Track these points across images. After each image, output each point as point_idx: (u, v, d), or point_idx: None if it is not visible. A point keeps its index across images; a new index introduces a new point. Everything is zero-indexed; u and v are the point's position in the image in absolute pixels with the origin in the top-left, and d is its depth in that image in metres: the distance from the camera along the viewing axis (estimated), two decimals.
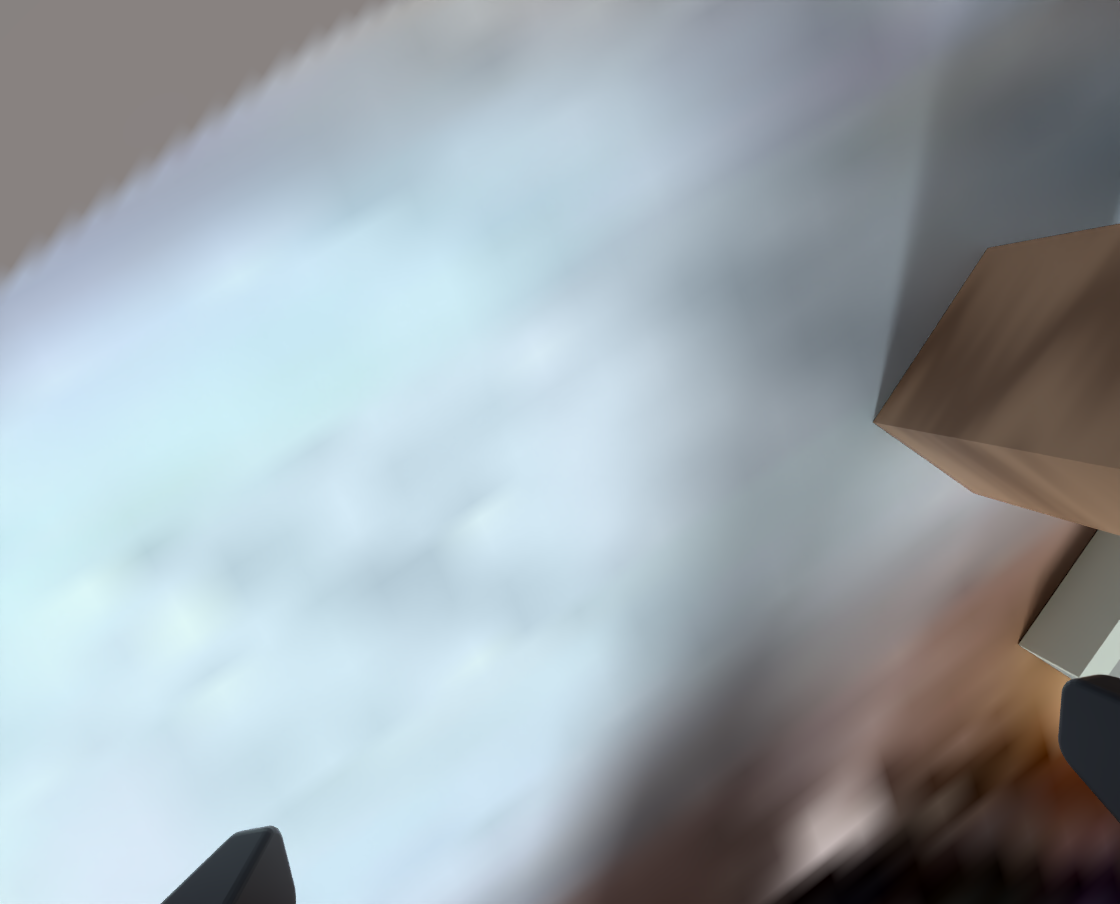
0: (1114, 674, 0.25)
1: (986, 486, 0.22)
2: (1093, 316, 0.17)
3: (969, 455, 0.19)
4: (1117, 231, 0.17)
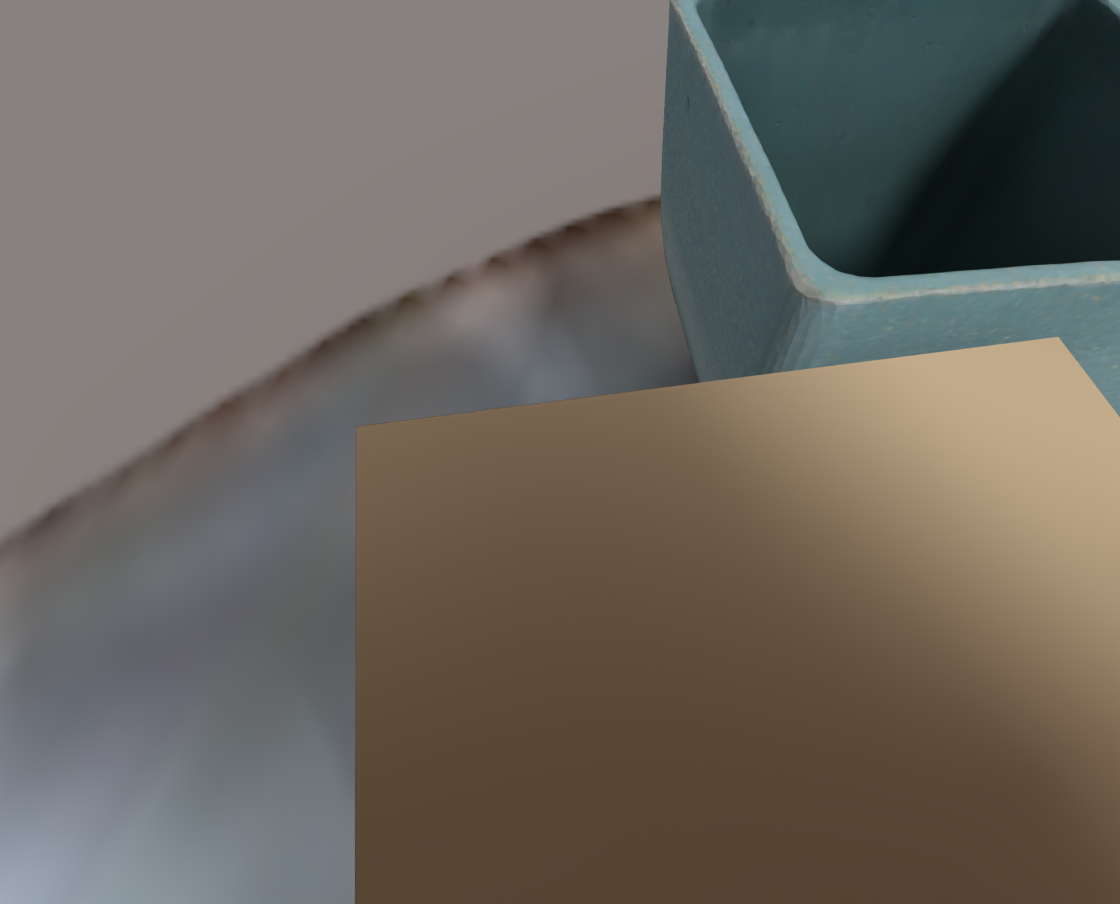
0: None
1: None
2: None
3: None
4: None
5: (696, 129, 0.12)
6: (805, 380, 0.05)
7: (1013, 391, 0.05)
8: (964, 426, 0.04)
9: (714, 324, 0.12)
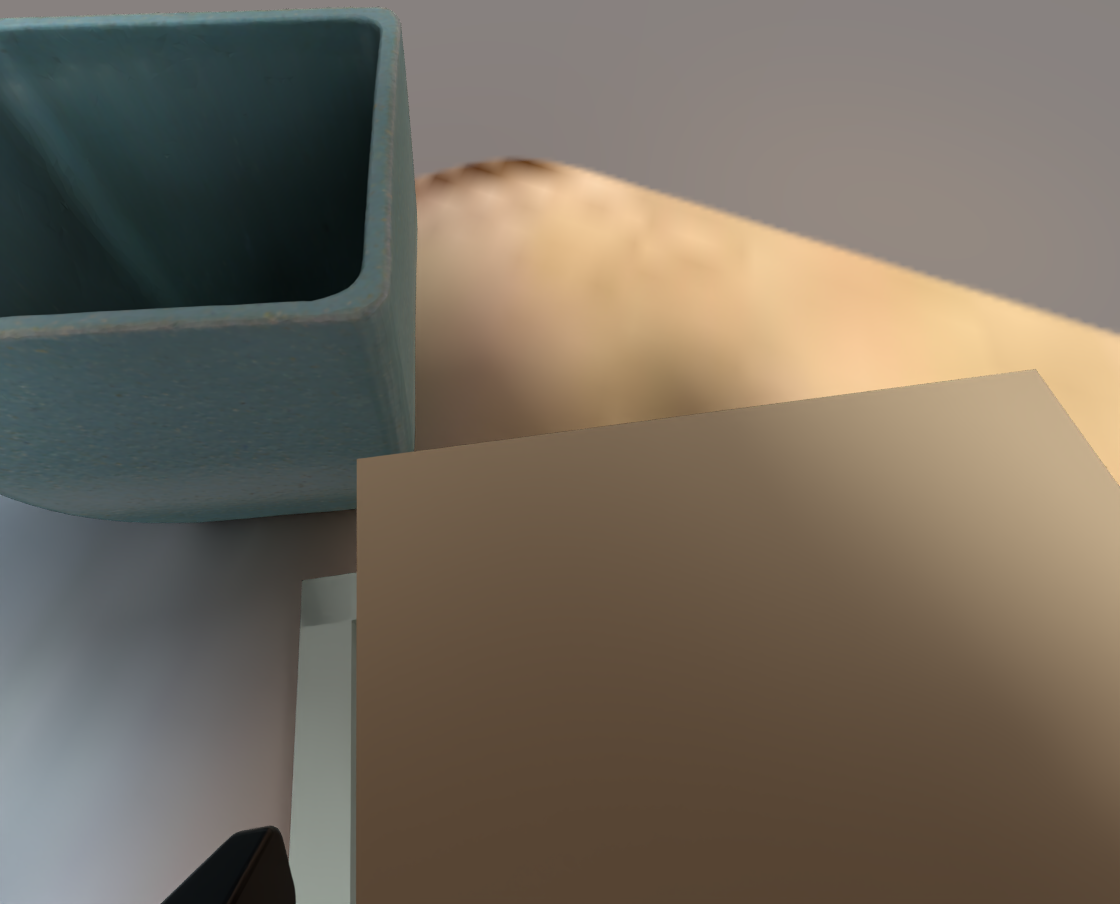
0: None
1: None
2: None
3: None
4: None
5: None
6: (789, 414, 0.05)
7: (990, 423, 0.05)
8: (942, 458, 0.05)
9: None
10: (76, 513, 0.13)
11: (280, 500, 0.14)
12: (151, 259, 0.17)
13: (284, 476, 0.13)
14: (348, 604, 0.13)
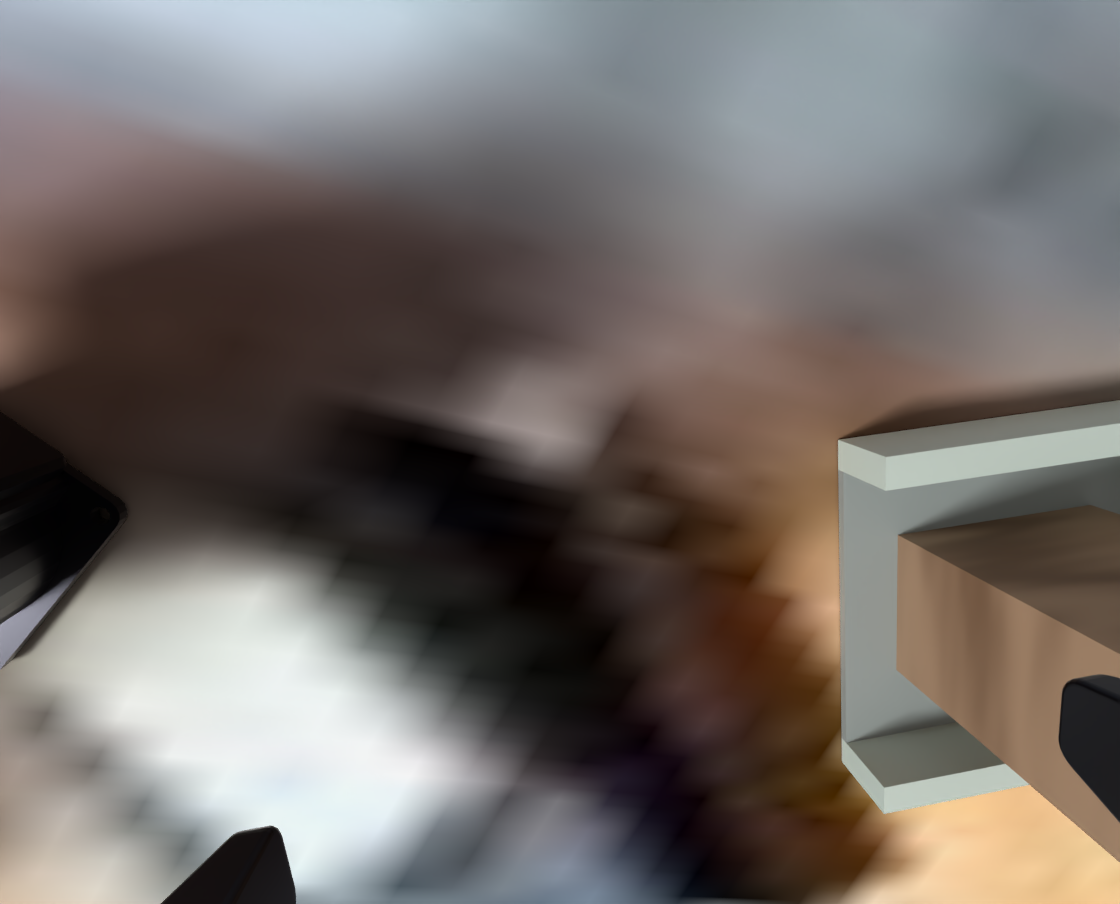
0: (874, 561, 0.21)
1: (929, 663, 0.21)
2: None
3: (970, 613, 0.18)
4: None
5: None
6: None
7: None
8: None
9: None
10: None
11: None
12: None
13: None
14: None
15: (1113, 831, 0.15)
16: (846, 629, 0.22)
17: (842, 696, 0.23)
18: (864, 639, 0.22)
